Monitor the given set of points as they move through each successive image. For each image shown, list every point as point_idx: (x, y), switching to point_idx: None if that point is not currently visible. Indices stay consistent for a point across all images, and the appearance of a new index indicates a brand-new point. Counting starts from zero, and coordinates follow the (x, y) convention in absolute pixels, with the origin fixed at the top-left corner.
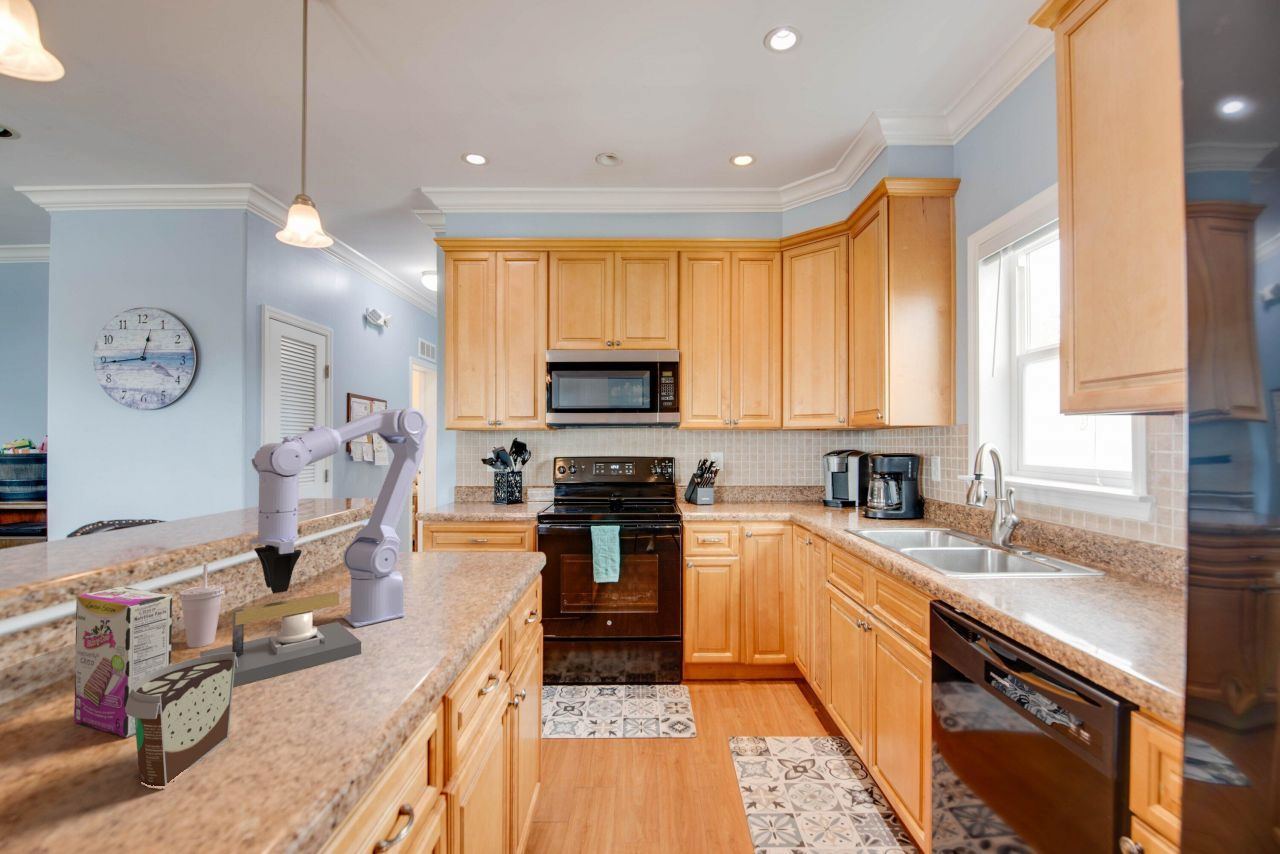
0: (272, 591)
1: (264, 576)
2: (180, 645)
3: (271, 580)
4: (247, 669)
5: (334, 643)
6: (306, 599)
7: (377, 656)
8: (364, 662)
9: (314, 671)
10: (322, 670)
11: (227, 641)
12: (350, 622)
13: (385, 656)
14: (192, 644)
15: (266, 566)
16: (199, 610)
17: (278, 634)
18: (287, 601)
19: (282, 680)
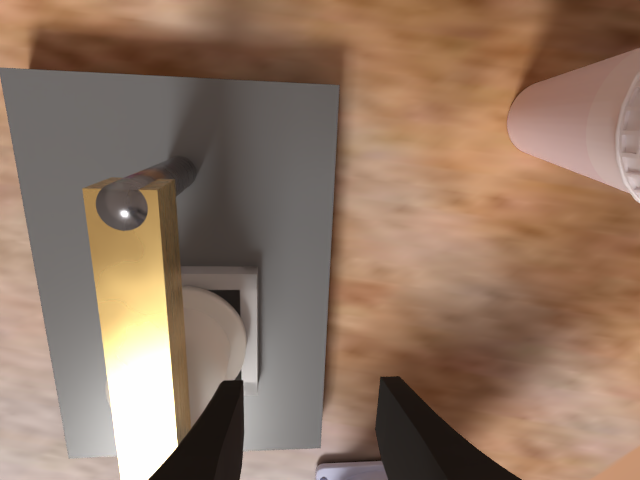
0: (221, 385)
1: (418, 408)
2: (583, 64)
3: (193, 429)
4: (23, 175)
5: (107, 404)
6: (123, 464)
7: (36, 454)
8: (10, 423)
9: (24, 320)
10: (18, 337)
11: (496, 184)
12: (360, 464)
13: (22, 467)
14: (527, 90)
15: (430, 472)
16: (589, 101)
17: (192, 300)
18: (146, 401)
19: (6, 246)
